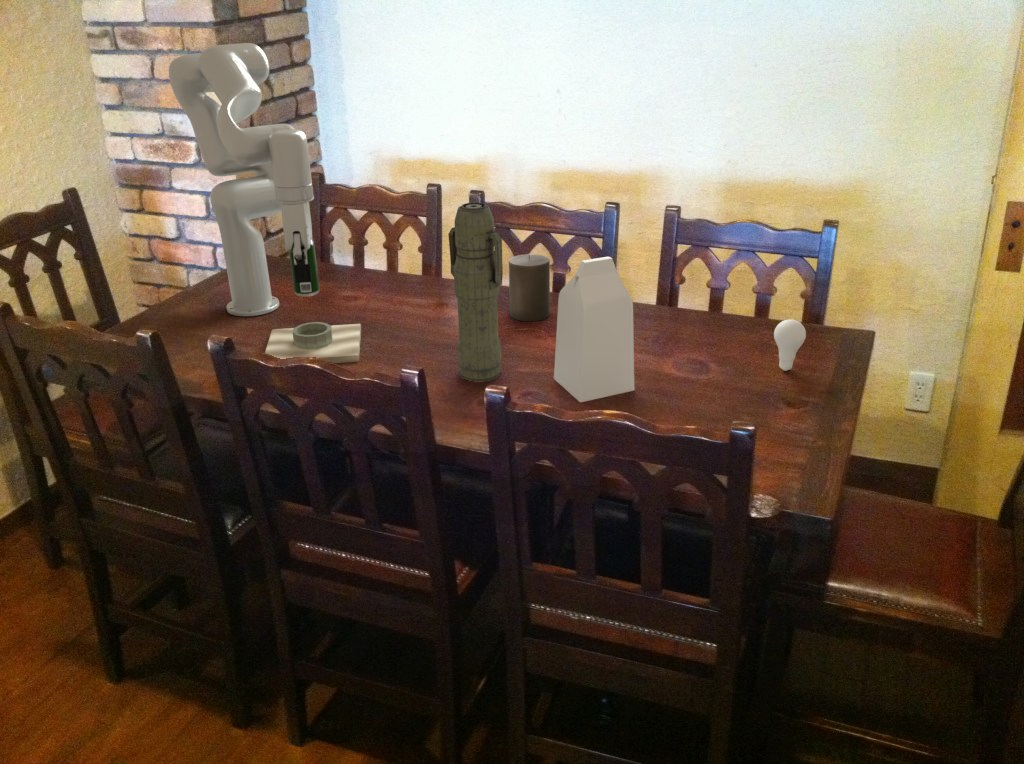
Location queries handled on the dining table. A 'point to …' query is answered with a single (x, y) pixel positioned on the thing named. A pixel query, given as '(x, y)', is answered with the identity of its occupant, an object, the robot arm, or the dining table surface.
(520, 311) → the pillar candle
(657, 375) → the dining table surface
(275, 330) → the carrier plate
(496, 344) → the thermos
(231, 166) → the robot arm
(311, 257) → the beer can
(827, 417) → the dining table surface
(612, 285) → the milk
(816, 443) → the dining table surface
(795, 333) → the lightbulb
